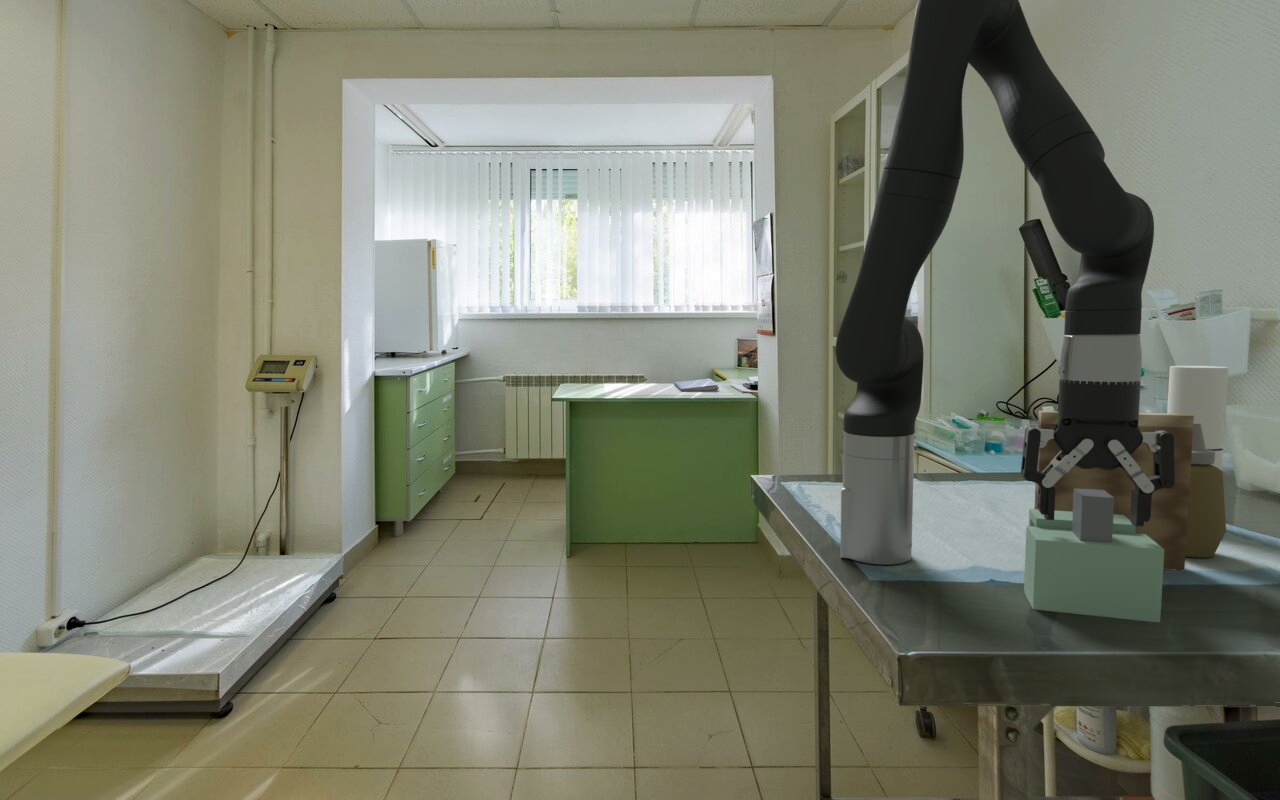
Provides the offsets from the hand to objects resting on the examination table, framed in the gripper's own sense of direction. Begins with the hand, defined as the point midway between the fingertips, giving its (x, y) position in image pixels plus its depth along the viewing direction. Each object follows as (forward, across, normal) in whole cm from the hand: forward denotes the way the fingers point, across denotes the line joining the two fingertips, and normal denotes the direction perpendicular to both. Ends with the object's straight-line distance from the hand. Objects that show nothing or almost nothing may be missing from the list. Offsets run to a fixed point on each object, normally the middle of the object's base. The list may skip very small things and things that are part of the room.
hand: (1092, 521), depth 80 cm
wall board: (+10, +6, +20) cm, 23 cm away
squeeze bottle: (+10, +18, +26) cm, 33 cm away
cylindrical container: (+10, +23, +42) cm, 49 cm away
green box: (+10, 0, +2) cm, 10 cm away
